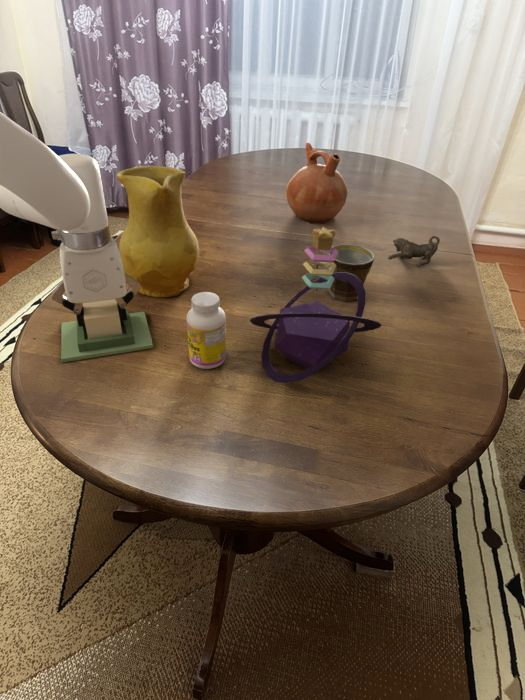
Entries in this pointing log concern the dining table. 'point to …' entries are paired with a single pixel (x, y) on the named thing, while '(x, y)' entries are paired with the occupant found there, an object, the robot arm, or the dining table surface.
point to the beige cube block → (102, 319)
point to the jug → (317, 188)
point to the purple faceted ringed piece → (314, 318)
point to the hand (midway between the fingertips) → (104, 325)
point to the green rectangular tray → (105, 339)
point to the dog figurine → (415, 250)
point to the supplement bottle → (206, 331)
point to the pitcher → (157, 231)
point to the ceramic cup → (350, 269)
